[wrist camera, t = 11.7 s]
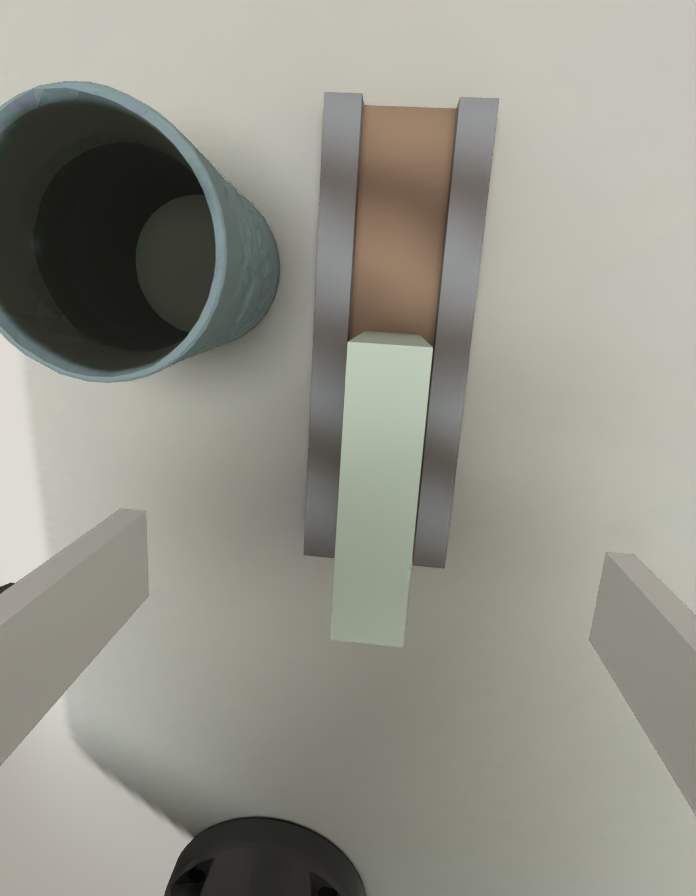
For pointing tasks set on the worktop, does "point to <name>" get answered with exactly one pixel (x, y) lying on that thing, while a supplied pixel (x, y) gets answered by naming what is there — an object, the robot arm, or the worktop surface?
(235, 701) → the worktop surface
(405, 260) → the track base
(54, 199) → the teal cup
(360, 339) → the door panel
